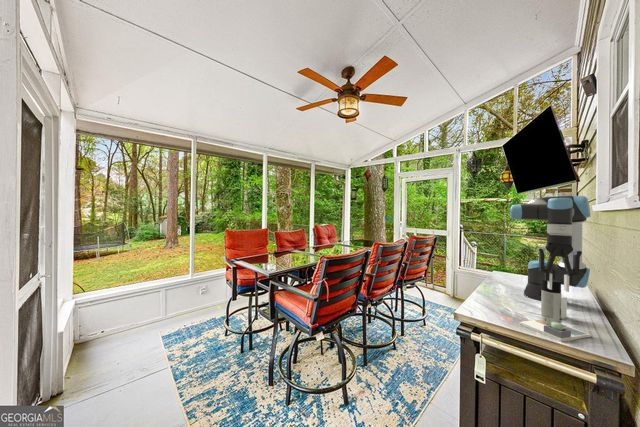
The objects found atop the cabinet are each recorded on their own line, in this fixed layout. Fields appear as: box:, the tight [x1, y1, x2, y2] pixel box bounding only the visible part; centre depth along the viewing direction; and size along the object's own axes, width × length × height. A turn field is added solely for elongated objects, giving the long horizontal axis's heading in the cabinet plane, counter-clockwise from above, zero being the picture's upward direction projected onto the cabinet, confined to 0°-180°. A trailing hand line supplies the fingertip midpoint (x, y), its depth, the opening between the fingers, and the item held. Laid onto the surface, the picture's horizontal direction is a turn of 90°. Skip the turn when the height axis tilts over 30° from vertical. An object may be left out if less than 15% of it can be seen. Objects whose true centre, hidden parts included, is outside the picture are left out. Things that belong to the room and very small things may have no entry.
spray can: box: [540, 279, 562, 325], centre depth 112 cm, size 7×7×20 cm
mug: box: [561, 293, 568, 320], centre depth 124 cm, size 9×12×11 cm
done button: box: [551, 322, 564, 331], centre depth 102 cm, size 4×4×3 cm
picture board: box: [518, 318, 592, 342], centre depth 108 cm, size 18×16×4 cm
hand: (557, 289), depth 102 cm, fingers open, 4 cm apart
